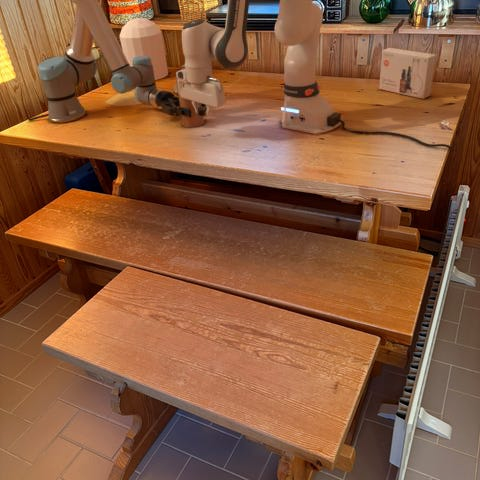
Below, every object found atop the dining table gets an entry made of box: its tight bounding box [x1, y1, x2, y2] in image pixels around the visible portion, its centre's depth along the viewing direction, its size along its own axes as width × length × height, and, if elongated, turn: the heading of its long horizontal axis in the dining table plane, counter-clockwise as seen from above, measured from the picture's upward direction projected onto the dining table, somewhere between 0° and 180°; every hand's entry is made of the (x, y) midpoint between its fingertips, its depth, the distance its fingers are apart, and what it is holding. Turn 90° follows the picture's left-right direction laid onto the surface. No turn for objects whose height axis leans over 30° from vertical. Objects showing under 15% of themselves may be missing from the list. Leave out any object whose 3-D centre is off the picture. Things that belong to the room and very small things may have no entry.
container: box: [119, 17, 169, 81], centre depth 235 cm, size 21×21×28 cm
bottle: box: [175, 64, 205, 128], centre depth 174 cm, size 8×8×22 cm
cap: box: [197, 106, 207, 117], centre depth 161 cm, size 4×4×2 cm
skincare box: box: [378, 47, 437, 100], centre depth 184 cm, size 21×6×16 cm, turn 40°
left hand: (199, 109), depth 174 cm, fingers closed on bottle, 8 cm apart
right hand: (203, 114), depth 161 cm, fingers closed on cap, 4 cm apart
